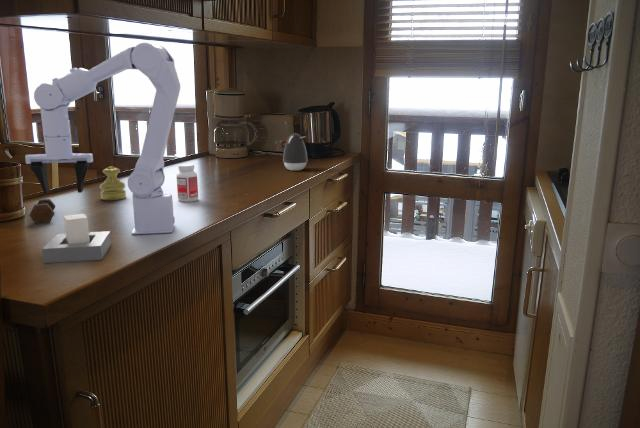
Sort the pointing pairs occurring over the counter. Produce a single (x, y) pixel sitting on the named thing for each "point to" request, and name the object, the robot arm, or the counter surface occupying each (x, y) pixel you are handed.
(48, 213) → the bolt
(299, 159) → the pump dispenser
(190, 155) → the counter surface
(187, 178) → the pill bottle
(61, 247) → the socket block
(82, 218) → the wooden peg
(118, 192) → the yellow chess piece
